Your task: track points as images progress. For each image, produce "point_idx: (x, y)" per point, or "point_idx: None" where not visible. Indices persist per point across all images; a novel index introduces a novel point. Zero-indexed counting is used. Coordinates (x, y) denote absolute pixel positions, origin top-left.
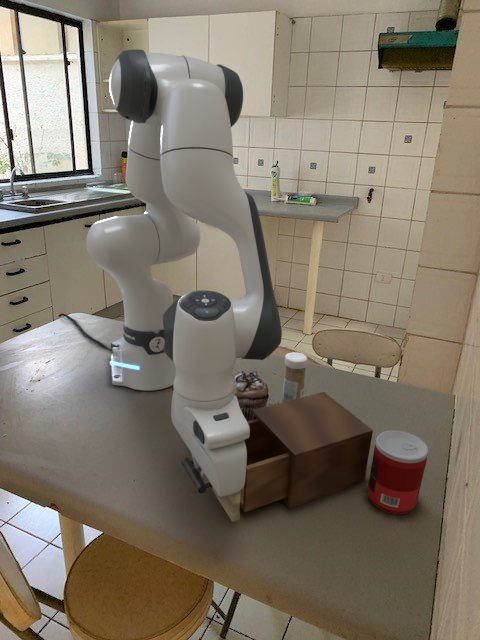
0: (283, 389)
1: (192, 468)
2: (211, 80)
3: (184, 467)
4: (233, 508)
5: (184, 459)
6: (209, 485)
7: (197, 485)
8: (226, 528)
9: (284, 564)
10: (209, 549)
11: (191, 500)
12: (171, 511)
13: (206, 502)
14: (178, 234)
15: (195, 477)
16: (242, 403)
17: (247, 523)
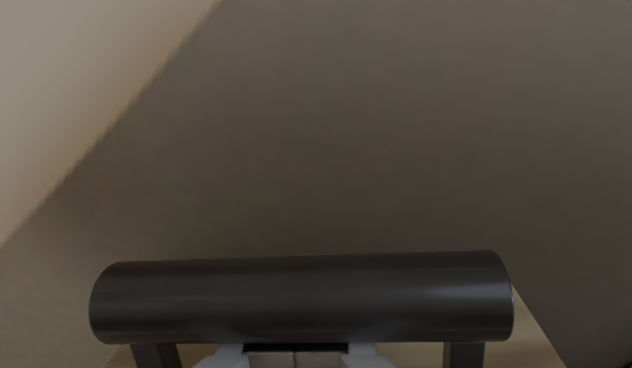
0: None
1: (335, 330)
2: None
3: (412, 267)
4: (119, 348)
5: (499, 310)
6: (137, 358)
7: (120, 295)
8: (171, 254)
9: (3, 347)
10: (82, 163)
11: (367, 179)
12: (333, 67)
13: (330, 234)
14: None
15: (211, 314)
16: None
17: None
